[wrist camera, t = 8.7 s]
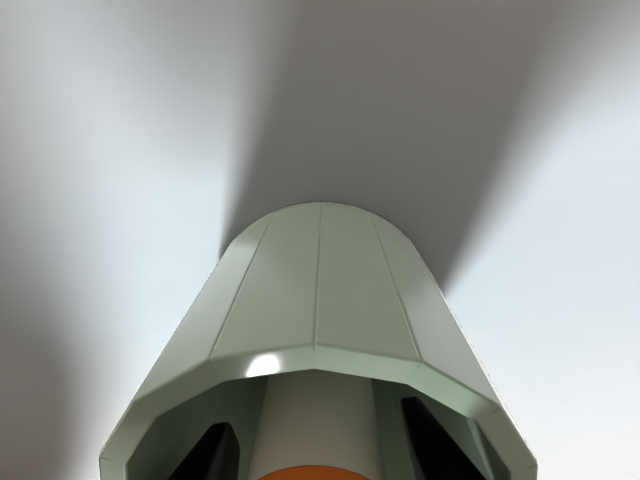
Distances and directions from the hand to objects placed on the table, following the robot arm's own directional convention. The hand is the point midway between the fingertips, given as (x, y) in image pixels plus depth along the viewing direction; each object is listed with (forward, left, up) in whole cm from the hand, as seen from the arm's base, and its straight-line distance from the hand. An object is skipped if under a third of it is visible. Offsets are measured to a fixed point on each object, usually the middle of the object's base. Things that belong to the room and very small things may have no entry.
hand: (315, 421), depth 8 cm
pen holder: (0, 0, -5) cm, 5 cm away
